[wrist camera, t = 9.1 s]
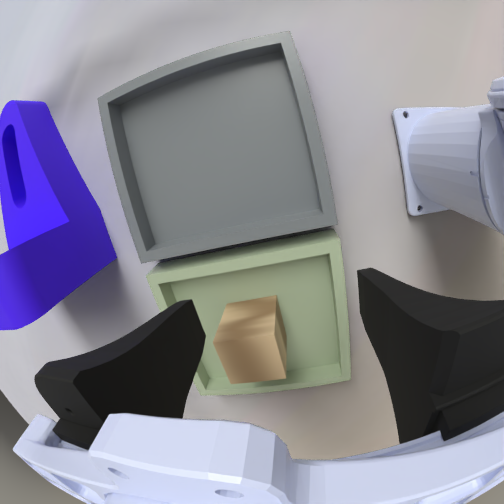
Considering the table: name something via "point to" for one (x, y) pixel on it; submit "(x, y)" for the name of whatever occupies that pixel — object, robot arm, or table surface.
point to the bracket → (43, 217)
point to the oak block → (252, 341)
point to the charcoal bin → (218, 150)
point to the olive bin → (263, 285)
